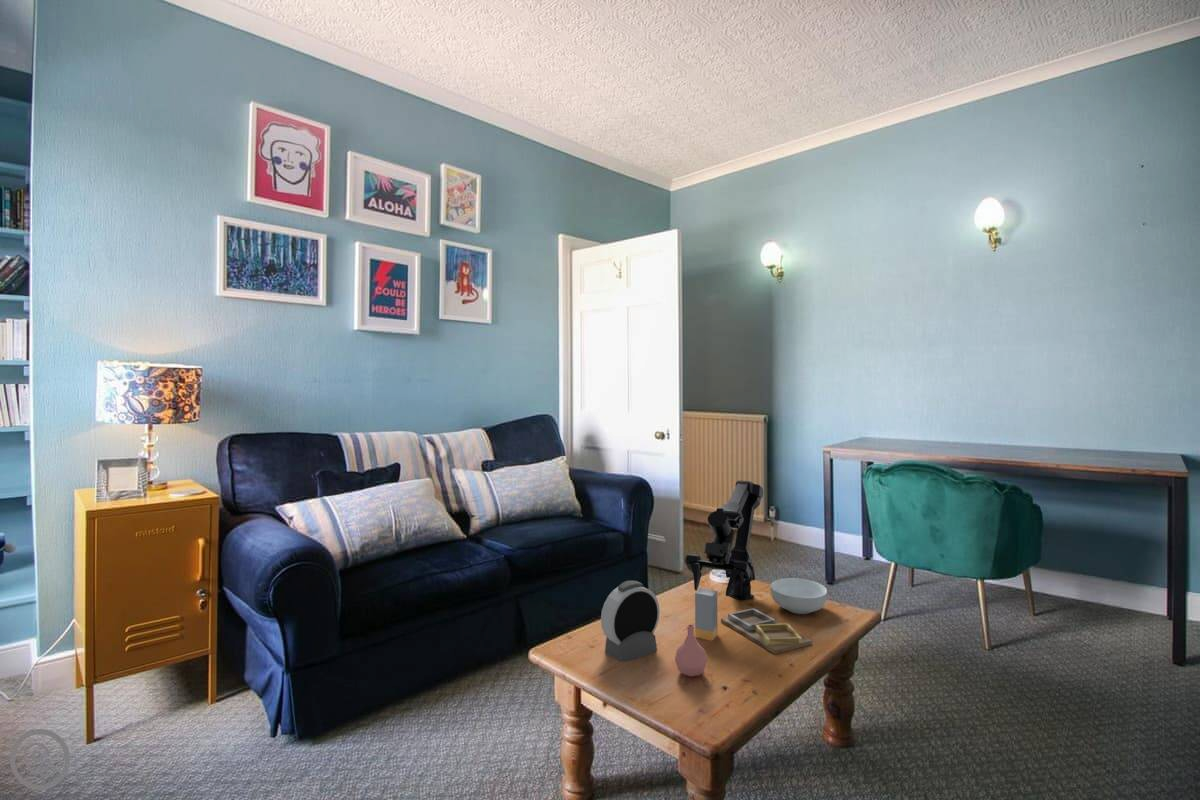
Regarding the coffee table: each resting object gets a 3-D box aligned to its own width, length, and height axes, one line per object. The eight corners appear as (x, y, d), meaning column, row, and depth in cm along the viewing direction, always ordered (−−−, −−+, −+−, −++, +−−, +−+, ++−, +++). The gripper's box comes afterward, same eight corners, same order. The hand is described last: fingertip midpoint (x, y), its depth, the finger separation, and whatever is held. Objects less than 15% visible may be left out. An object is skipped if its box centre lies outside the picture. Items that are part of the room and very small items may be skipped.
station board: (720, 621, 173) (720, 613, 173) (755, 613, 179) (755, 605, 179) (775, 654, 152) (775, 645, 152) (812, 644, 158) (812, 635, 158)
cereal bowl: (759, 604, 187) (759, 582, 186) (798, 595, 194) (798, 574, 193) (798, 624, 171) (798, 600, 171) (839, 614, 178) (839, 591, 178)
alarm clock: (617, 665, 147) (616, 594, 147) (595, 650, 156) (594, 583, 155) (666, 649, 156) (666, 581, 156) (643, 635, 165) (642, 571, 164)
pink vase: (685, 663, 148) (685, 616, 148) (712, 672, 143) (712, 624, 143) (669, 675, 142) (668, 627, 142) (696, 685, 137) (696, 635, 137)
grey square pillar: (700, 631, 167) (700, 588, 167) (717, 634, 165) (717, 591, 164) (695, 637, 163) (695, 593, 163) (712, 640, 161) (712, 596, 160)
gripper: (686, 527, 176) (672, 573, 167) (748, 534, 167) (737, 584, 157) (695, 546, 183) (682, 592, 174) (755, 554, 174) (745, 603, 164)
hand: (710, 592), depth 167 cm, fingers open, 9 cm apart
